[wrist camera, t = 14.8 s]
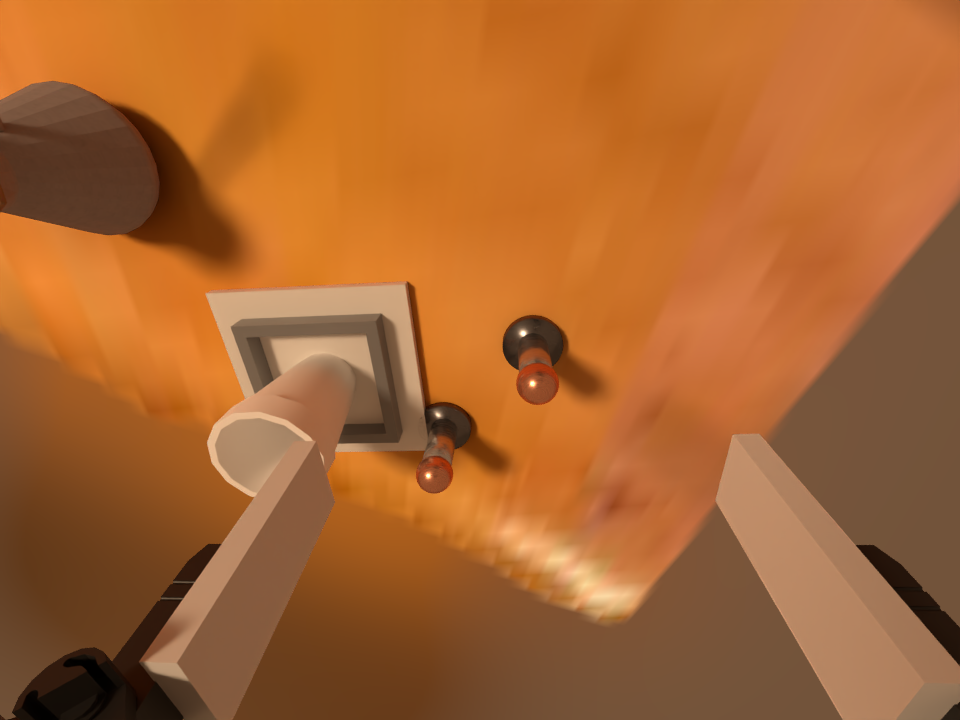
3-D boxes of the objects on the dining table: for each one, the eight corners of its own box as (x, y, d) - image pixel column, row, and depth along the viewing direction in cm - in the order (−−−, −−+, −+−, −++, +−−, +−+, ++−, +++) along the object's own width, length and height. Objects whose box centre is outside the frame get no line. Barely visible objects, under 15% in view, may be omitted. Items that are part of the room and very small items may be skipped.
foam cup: (278, 399, 47) (204, 483, 35) (289, 327, 43) (209, 396, 31) (361, 424, 48) (316, 514, 36) (379, 357, 44) (334, 434, 32)
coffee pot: (163, 252, 41) (-1, 306, 28) (38, 184, 39) (-209, 208, 25) (222, 13, 32) (20, -78, 19) (63, -94, 30) (-299, -285, 16)
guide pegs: (409, 424, 49) (387, 488, 40) (531, 303, 41) (539, 348, 32) (448, 453, 50) (436, 519, 42) (574, 341, 43) (592, 393, 34)
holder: (211, 290, 42) (192, 300, 40) (407, 281, 41) (400, 291, 38) (269, 447, 52) (256, 464, 49) (431, 445, 50) (427, 462, 47)
